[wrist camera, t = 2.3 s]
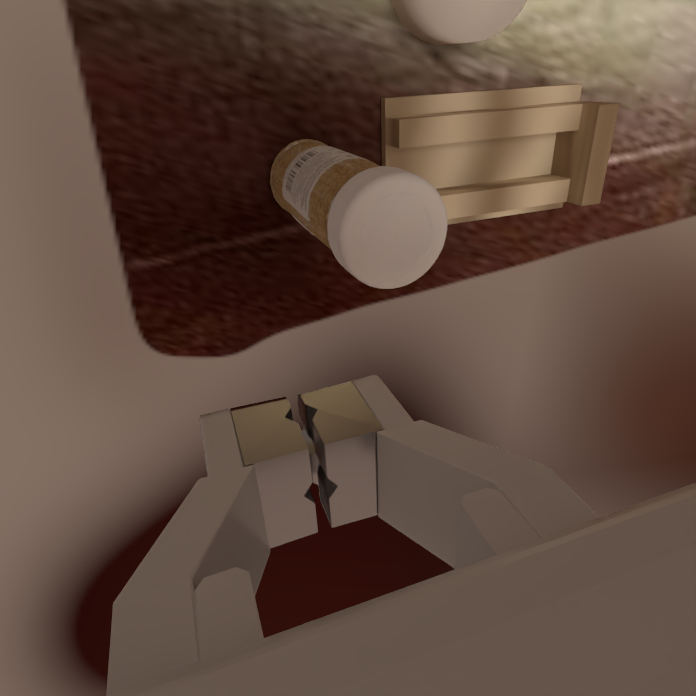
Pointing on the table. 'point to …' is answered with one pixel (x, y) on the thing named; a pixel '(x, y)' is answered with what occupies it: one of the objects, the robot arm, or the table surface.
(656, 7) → the table surface
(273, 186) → the sprinkles bottle
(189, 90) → the table surface
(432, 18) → the cream dish
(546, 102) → the u rest
